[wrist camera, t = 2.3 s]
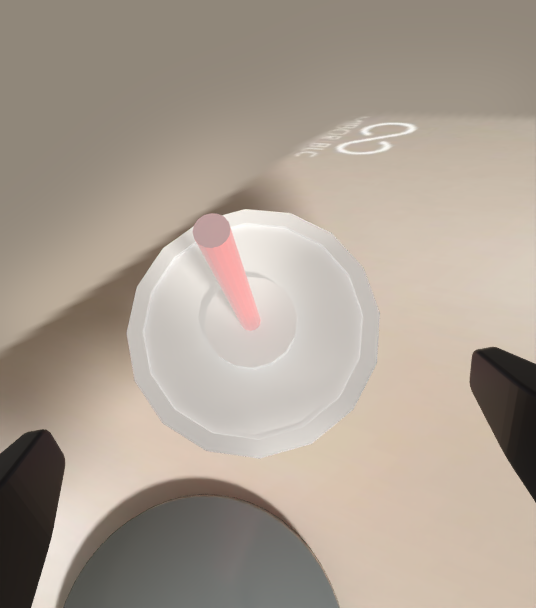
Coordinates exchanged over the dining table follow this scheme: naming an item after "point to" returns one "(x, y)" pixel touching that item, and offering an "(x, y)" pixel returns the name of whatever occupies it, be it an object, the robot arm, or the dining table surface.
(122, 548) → the coaster
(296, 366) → the beverage cup
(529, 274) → the dining table surface
